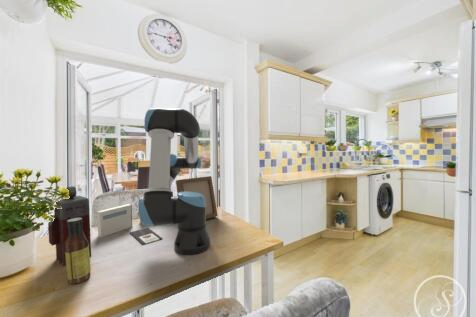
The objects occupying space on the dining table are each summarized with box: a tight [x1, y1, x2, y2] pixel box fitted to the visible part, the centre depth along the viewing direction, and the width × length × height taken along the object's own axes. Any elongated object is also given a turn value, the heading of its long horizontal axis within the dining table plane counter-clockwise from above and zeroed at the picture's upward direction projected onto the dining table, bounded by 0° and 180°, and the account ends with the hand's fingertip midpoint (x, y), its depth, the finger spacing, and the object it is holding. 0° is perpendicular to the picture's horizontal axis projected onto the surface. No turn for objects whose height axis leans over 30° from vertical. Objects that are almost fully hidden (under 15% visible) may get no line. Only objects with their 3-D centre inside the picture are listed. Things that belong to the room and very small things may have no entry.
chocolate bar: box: [129, 227, 163, 246], centre depth 106 cm, size 9×1×18 cm
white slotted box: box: [96, 203, 133, 238], centre depth 112 cm, size 16×3×12 cm, turn 150°
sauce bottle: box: [65, 218, 92, 285], centre depth 71 cm, size 7×6×20 cm
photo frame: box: [175, 175, 218, 220], centre depth 130 cm, size 15×22×25 cm
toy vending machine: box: [47, 185, 92, 267], centre depth 84 cm, size 9×11×28 cm
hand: (143, 215), depth 126 cm, fingers closed on stub, 3 cm apart
